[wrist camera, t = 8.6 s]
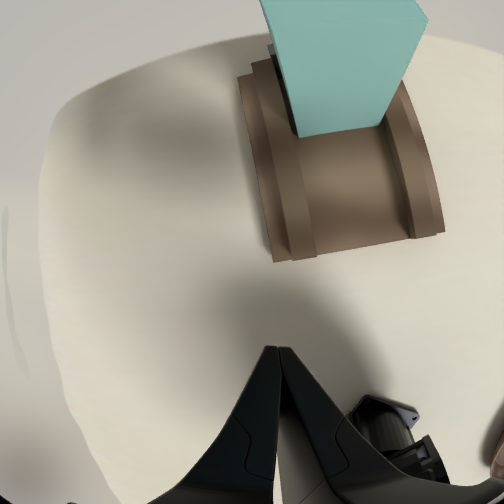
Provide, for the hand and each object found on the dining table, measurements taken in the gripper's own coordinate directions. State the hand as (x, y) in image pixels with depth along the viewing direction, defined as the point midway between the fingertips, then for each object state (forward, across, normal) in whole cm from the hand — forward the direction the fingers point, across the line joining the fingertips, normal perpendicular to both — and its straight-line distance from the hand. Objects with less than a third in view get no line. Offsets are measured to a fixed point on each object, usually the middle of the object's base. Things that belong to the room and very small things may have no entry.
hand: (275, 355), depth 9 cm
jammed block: (+14, -4, -10) cm, 18 cm away
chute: (+14, -5, -7) cm, 17 cm away
